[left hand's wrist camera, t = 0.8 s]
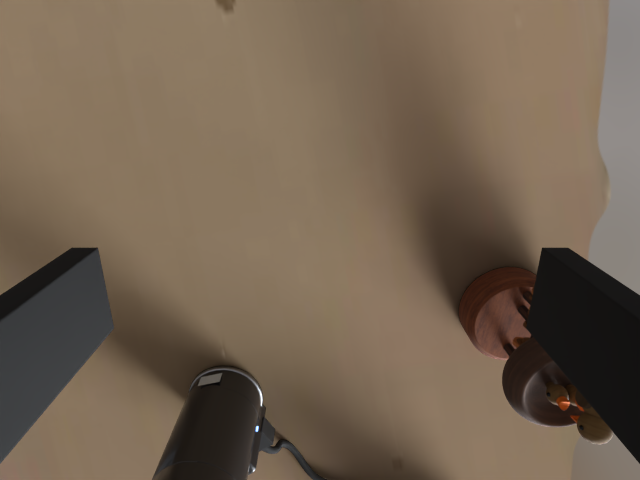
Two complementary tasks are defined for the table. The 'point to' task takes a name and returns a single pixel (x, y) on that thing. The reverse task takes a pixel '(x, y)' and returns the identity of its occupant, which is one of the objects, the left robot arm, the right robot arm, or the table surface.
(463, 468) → the table surface
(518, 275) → the music box
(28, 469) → the table surface
